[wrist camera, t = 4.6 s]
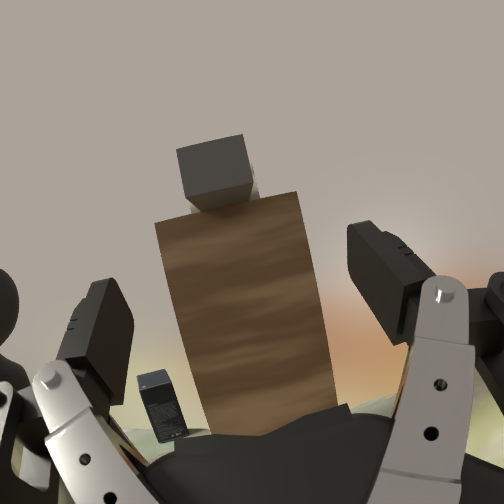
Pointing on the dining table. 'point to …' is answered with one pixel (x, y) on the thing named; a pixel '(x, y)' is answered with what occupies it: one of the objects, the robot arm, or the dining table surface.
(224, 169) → the dark grey matte block
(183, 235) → the stand
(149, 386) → the box
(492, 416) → the dining table surface
